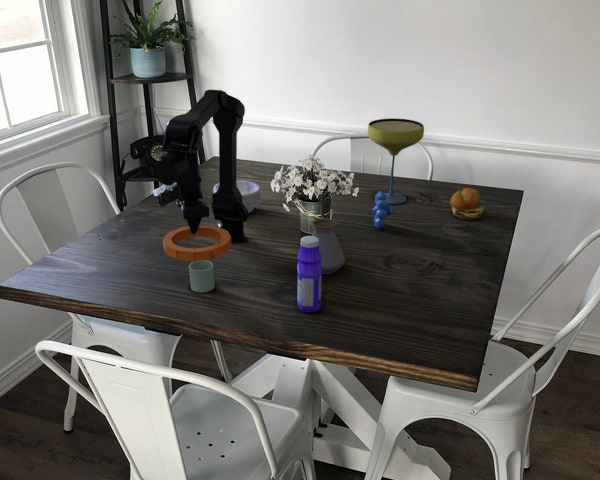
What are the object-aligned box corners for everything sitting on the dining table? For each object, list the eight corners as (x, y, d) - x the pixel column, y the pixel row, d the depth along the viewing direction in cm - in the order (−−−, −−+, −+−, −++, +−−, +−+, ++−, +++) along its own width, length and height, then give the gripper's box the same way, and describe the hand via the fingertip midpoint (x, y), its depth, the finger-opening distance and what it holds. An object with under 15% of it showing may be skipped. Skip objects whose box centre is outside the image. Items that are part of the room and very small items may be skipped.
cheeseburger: (491, 216, 198) (491, 188, 192) (467, 230, 194) (467, 203, 188) (467, 206, 205) (466, 179, 199) (444, 220, 202) (442, 193, 195)
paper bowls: (270, 207, 205) (269, 184, 201) (242, 222, 194) (241, 198, 190) (233, 199, 212) (232, 176, 208) (204, 212, 201) (202, 189, 197)
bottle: (295, 299, 151) (295, 233, 142) (319, 298, 151) (320, 232, 143) (298, 314, 144) (298, 246, 136) (322, 313, 145) (324, 245, 136)
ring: (222, 230, 161) (222, 221, 160) (237, 255, 148) (236, 246, 147) (160, 238, 157) (159, 229, 156) (169, 264, 144) (168, 255, 142)
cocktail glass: (365, 188, 221) (369, 117, 209) (416, 191, 219) (423, 119, 207) (362, 206, 206) (366, 130, 194) (418, 209, 204) (425, 132, 191)
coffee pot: (346, 277, 161) (348, 223, 154) (301, 277, 161) (301, 223, 154) (341, 244, 180) (342, 194, 172) (301, 244, 179) (301, 194, 172)
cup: (212, 279, 160) (210, 258, 157) (217, 290, 155) (215, 268, 152) (188, 283, 158) (186, 262, 155) (193, 294, 153) (191, 272, 150)
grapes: (394, 236, 184) (397, 197, 178) (371, 235, 185) (374, 197, 179) (392, 221, 194) (395, 184, 189) (370, 221, 195) (372, 184, 189)
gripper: (148, 164, 156) (155, 222, 163) (158, 188, 140) (165, 251, 148) (193, 160, 159) (198, 217, 166) (207, 183, 143) (212, 245, 151)
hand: (192, 232), depth 158 cm, fingers closed on ring, 2 cm apart
